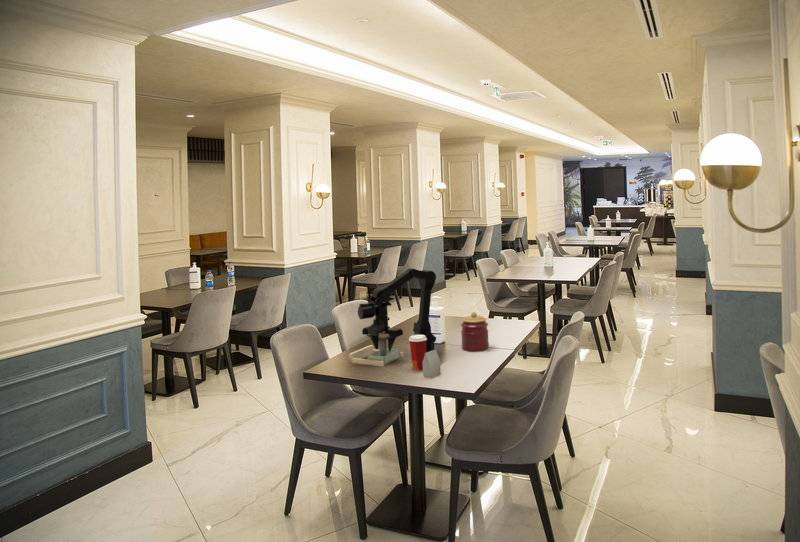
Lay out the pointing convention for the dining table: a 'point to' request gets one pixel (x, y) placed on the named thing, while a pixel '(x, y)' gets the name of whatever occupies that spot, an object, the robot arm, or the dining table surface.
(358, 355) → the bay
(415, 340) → the paper cup
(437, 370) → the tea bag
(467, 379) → the dining table surface
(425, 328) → the robot arm
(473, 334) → the canister
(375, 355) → the green base with post
